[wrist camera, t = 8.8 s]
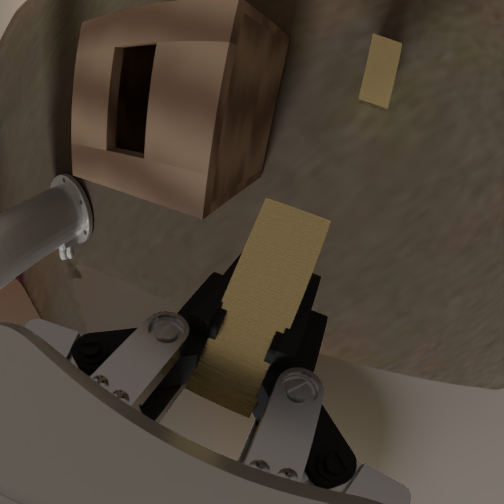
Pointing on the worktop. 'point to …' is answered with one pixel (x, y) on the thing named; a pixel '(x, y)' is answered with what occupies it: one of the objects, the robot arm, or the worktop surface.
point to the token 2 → (380, 72)
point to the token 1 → (259, 304)
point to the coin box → (176, 101)
